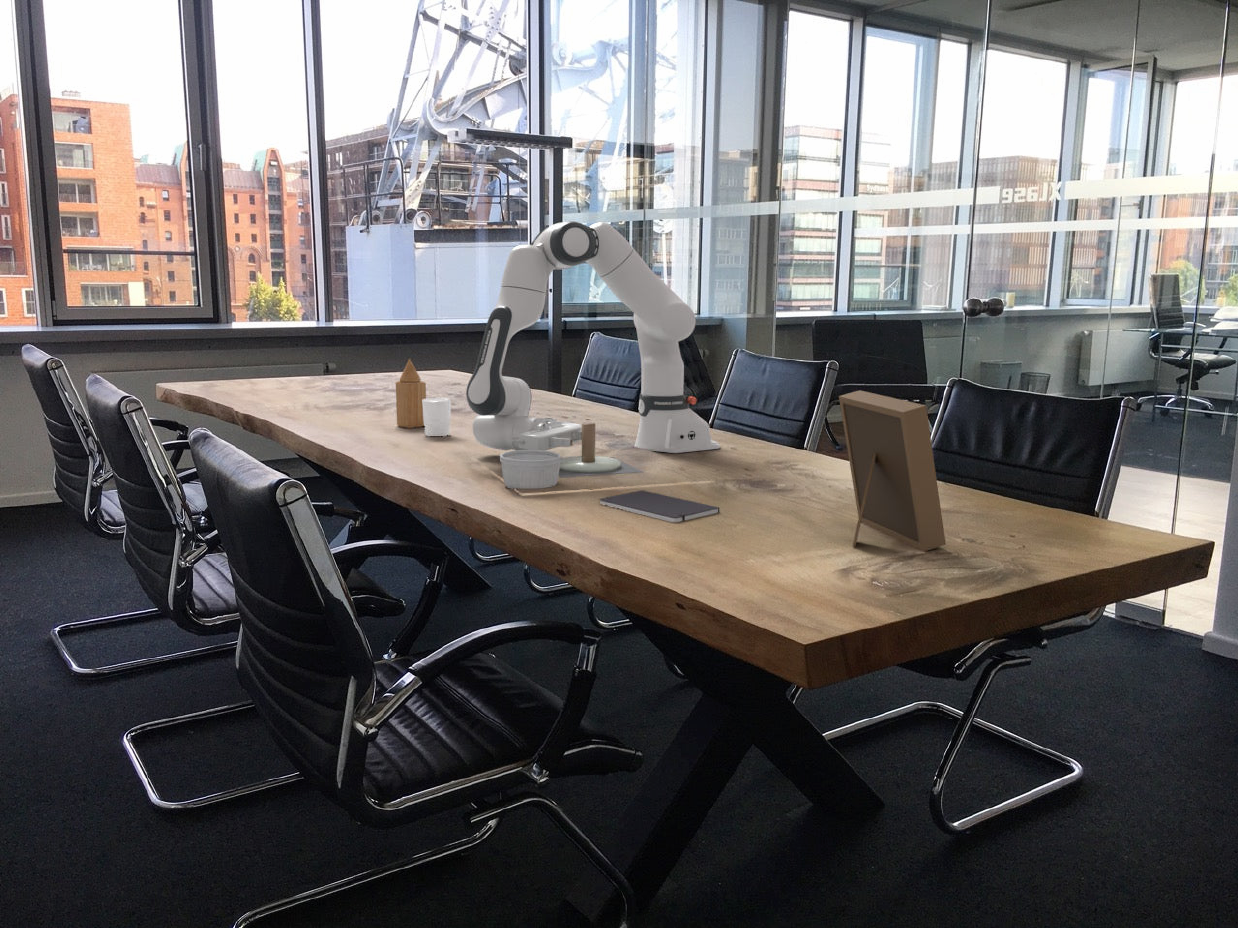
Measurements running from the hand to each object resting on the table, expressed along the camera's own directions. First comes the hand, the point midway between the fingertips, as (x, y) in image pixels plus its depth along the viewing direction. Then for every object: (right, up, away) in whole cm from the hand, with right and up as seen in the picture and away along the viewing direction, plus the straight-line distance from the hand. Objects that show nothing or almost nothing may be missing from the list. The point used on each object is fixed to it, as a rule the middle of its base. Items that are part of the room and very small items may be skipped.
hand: (581, 440), depth 245 cm
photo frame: (+54, -19, -59) cm, 82 cm away
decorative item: (-52, +5, +62) cm, 81 cm away
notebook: (+16, -15, -38) cm, 44 cm away
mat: (+2, -7, 0) cm, 7 cm away
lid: (+2, -6, 0) cm, 6 cm away
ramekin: (-10, -11, -19) cm, 24 cm away
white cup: (-42, +2, +47) cm, 63 cm away
